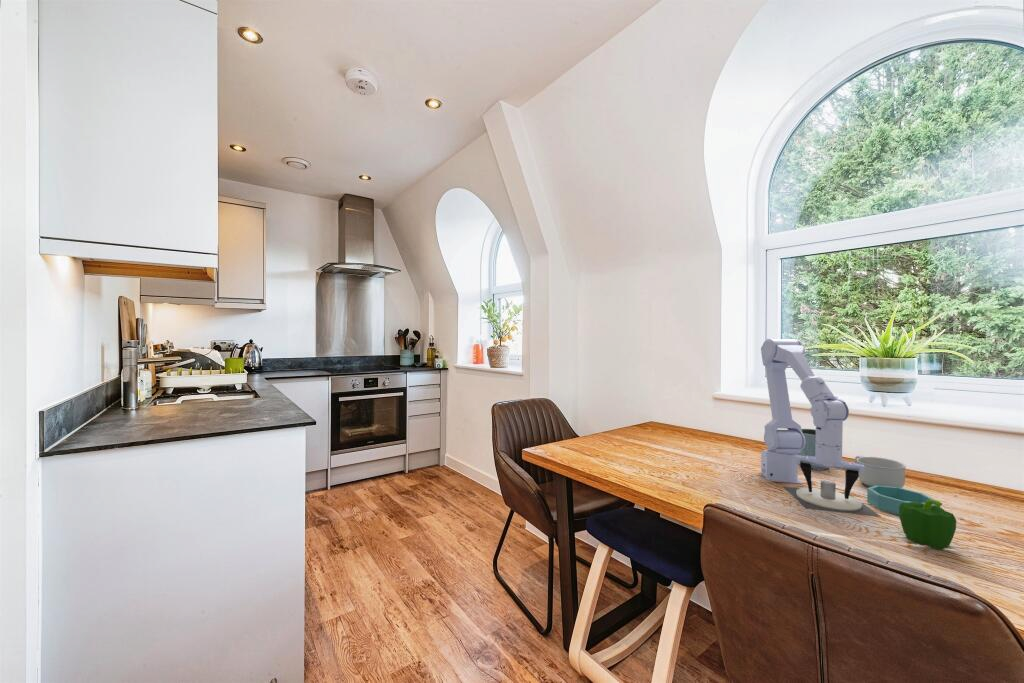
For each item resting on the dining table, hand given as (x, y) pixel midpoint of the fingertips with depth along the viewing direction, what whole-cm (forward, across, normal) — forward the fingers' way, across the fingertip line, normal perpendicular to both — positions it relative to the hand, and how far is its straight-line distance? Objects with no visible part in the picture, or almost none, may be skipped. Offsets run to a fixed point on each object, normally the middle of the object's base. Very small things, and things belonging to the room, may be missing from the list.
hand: (827, 494), depth 109 cm
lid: (+2, 0, 0) cm, 2 cm away
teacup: (+2, +12, +25) cm, 28 cm away
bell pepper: (+2, +16, -15) cm, 22 cm away
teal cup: (+2, -3, +37) cm, 37 cm away
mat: (+2, 0, 0) cm, 2 cm away
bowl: (+2, +15, +6) cm, 16 cm away
